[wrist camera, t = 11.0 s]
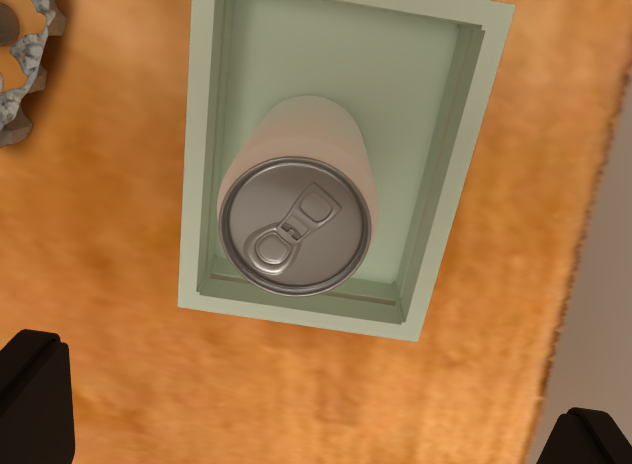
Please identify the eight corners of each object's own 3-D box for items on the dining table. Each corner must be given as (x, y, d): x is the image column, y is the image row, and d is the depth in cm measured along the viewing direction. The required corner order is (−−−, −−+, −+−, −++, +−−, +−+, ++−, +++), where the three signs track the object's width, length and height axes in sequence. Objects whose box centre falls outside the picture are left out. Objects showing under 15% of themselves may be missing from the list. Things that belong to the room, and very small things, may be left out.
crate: (221, -38, 26) (194, -51, 21) (480, 7, 26) (516, 4, 21) (201, 262, 33) (177, 306, 28) (404, 293, 33) (417, 342, 28)
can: (231, 151, 29) (170, 233, 18) (305, 68, 27) (287, 103, 16) (311, 221, 31) (300, 335, 20) (386, 148, 29) (421, 229, 18)
